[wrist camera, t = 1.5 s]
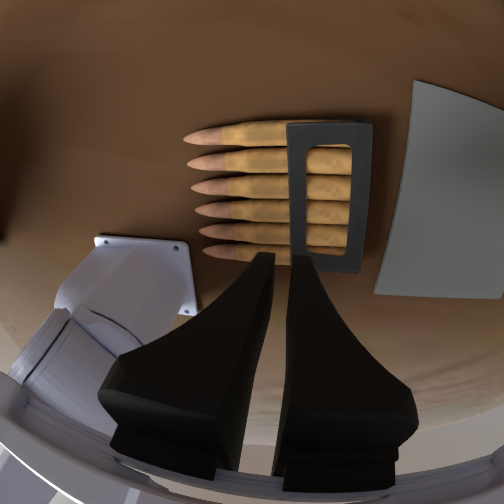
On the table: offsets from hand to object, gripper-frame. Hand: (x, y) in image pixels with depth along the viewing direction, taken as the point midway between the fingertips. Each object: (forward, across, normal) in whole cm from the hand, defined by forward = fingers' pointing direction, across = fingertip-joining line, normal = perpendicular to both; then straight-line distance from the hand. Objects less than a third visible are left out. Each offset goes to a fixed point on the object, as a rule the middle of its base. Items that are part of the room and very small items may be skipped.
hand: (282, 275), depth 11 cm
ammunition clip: (+9, -5, 0) cm, 11 cm away
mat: (+11, -15, 0) cm, 18 cm away
